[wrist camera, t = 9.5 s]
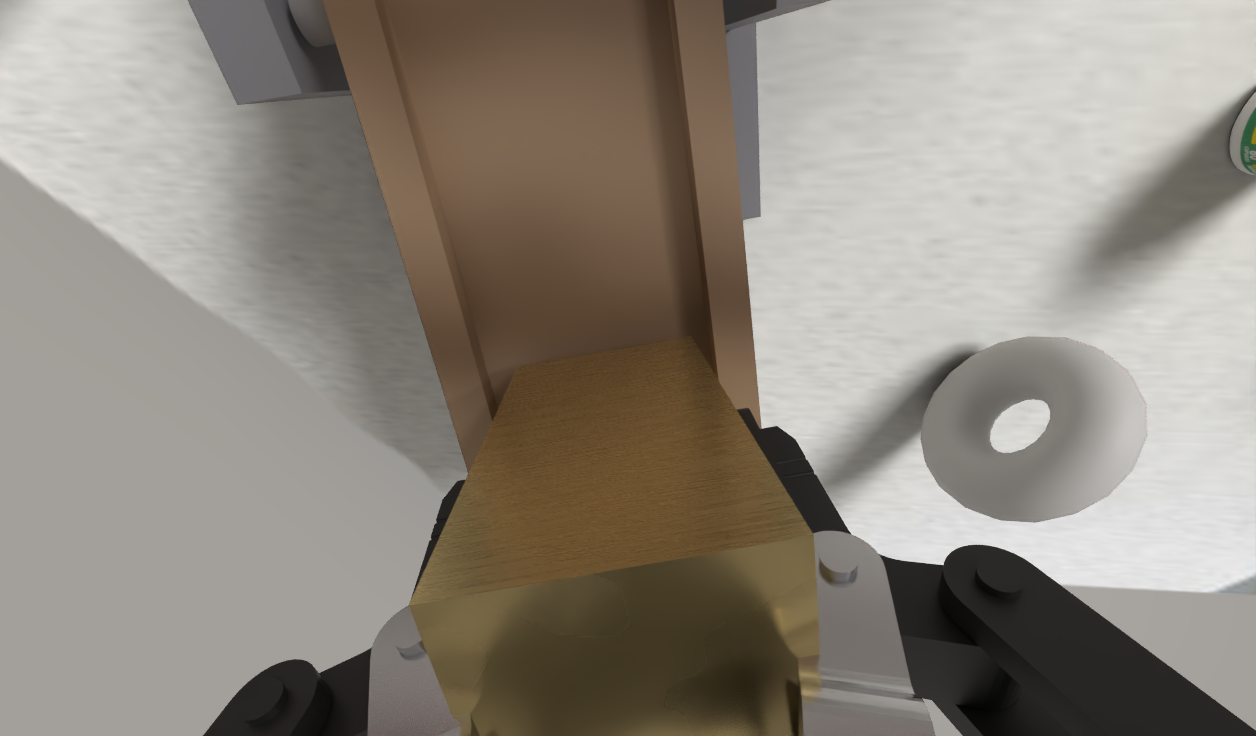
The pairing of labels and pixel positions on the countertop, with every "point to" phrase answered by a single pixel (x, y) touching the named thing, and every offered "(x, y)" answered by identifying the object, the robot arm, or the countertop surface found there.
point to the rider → (621, 560)
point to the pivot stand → (294, 69)
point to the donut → (1062, 456)
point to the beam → (552, 180)
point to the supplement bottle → (1245, 138)
